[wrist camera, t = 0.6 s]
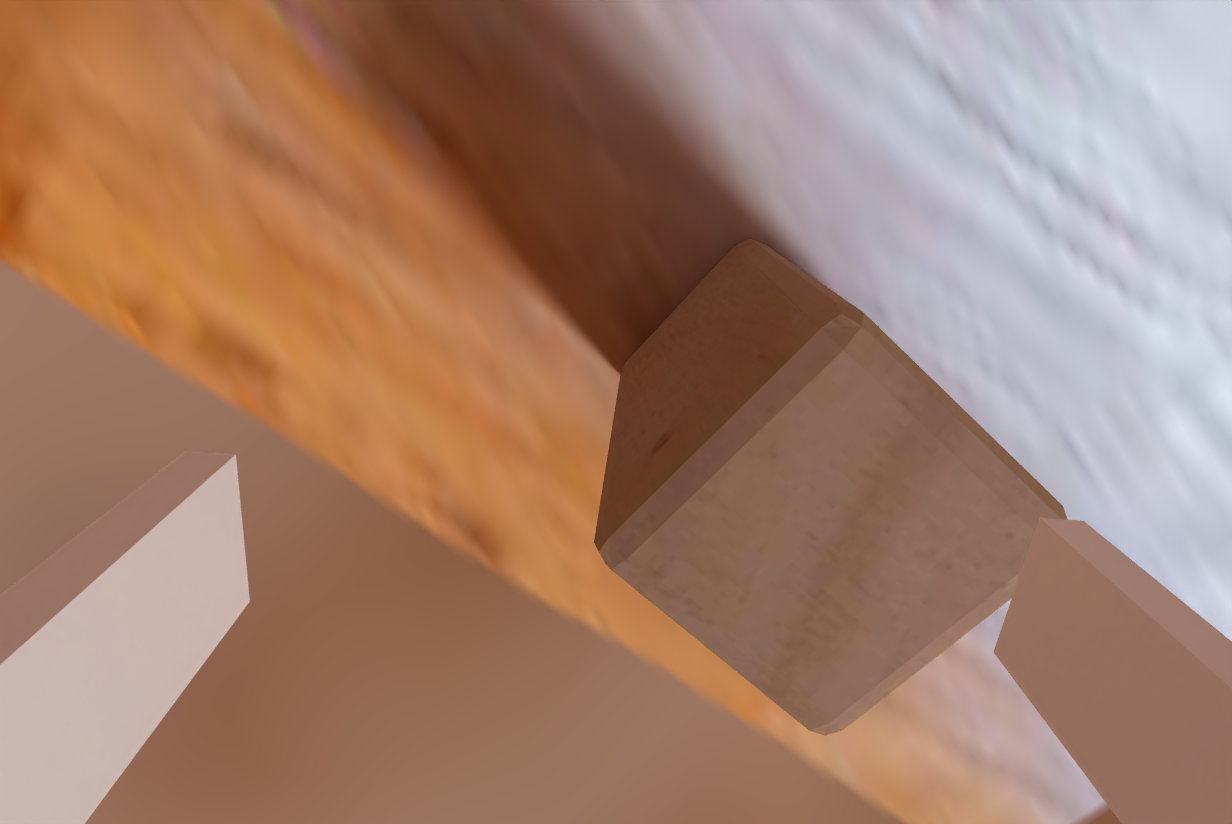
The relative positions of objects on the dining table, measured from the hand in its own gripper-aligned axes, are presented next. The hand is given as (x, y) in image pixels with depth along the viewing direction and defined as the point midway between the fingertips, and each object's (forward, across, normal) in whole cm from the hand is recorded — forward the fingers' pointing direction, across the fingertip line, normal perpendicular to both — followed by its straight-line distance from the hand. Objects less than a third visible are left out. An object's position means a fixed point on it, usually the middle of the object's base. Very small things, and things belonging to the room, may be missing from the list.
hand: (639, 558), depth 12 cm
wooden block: (+27, +8, -4) cm, 28 cm away
